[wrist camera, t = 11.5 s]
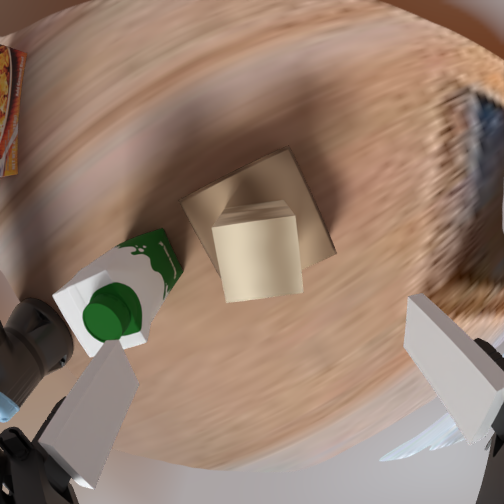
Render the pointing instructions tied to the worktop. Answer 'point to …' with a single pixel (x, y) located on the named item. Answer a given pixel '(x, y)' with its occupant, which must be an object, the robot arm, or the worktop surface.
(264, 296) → the oak block
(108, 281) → the milk carton
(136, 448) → the worktop surface
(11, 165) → the pasta box
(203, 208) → the walnut box
